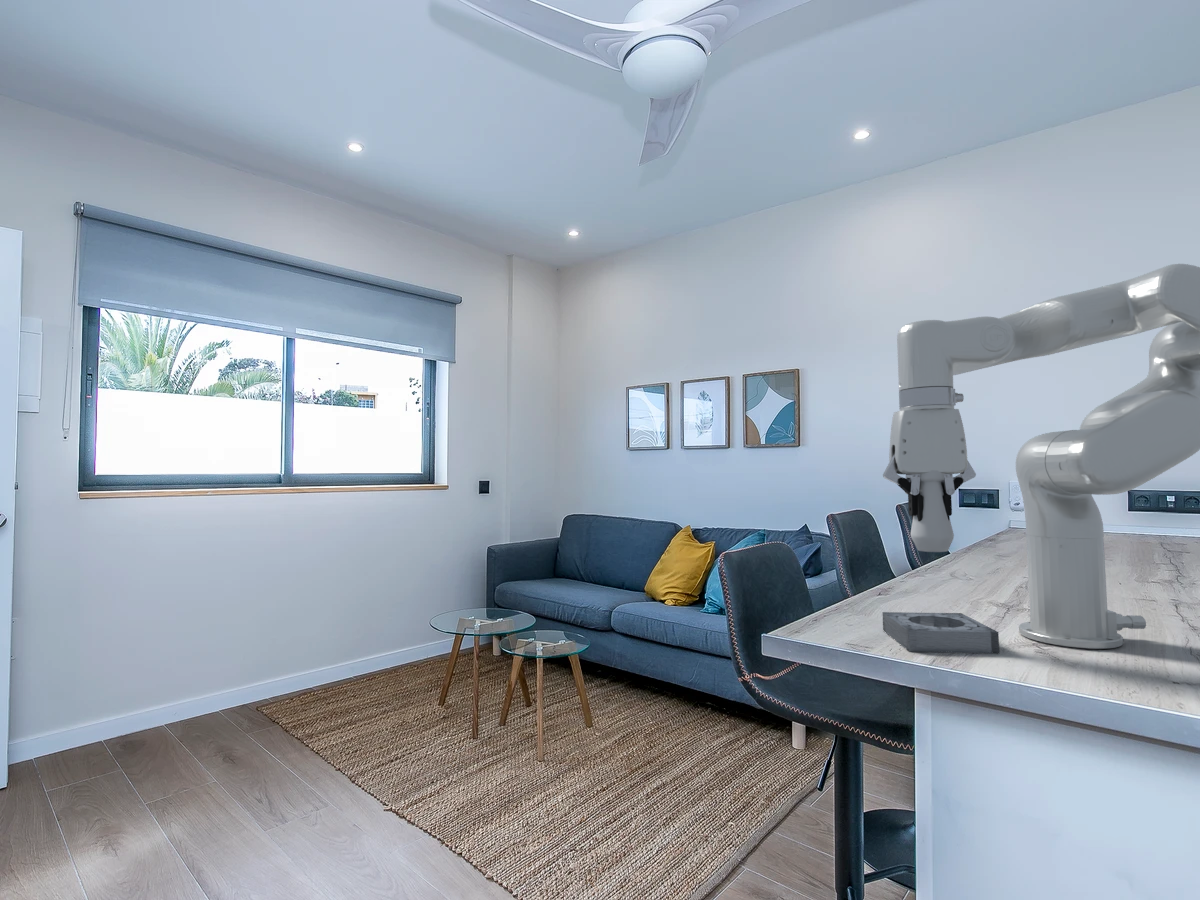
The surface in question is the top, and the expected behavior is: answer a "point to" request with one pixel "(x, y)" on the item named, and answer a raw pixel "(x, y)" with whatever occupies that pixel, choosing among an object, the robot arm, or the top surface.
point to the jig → (940, 632)
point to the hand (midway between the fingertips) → (930, 519)
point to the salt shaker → (932, 516)
